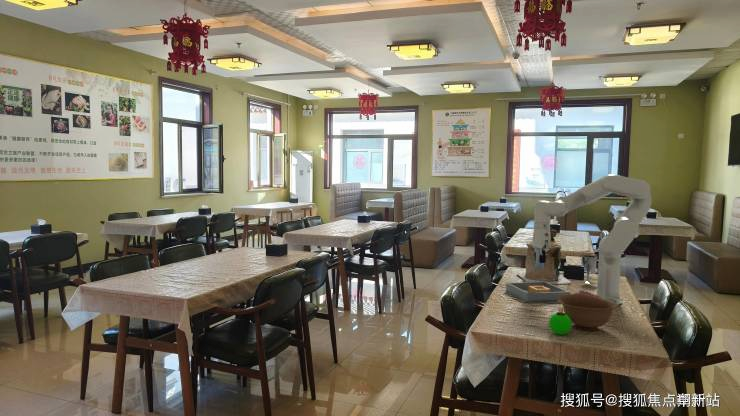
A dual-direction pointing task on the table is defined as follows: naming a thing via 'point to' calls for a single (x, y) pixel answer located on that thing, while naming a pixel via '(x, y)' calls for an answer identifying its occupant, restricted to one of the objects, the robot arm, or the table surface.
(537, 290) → the frame
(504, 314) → the table surface
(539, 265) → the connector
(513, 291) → the walled box
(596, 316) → the bowl
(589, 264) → the wine glass
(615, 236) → the robot arm
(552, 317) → the ornament
